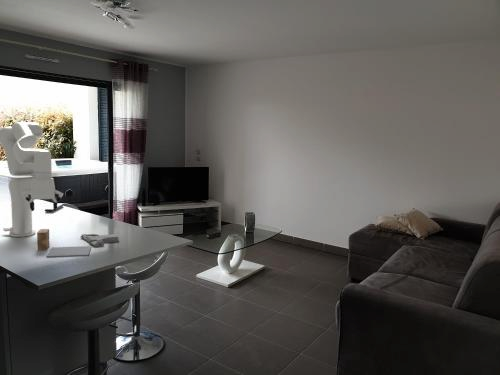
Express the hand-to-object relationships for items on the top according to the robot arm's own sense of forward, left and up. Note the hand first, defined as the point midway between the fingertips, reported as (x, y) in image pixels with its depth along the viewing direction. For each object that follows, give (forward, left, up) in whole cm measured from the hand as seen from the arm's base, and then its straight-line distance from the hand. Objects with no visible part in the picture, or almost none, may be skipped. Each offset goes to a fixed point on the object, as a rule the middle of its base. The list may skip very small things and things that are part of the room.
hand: (43, 210), depth 188 cm
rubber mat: (+13, -8, -19) cm, 24 cm away
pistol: (+26, +11, -20) cm, 34 cm away
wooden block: (0, 0, -19) cm, 19 cm away
